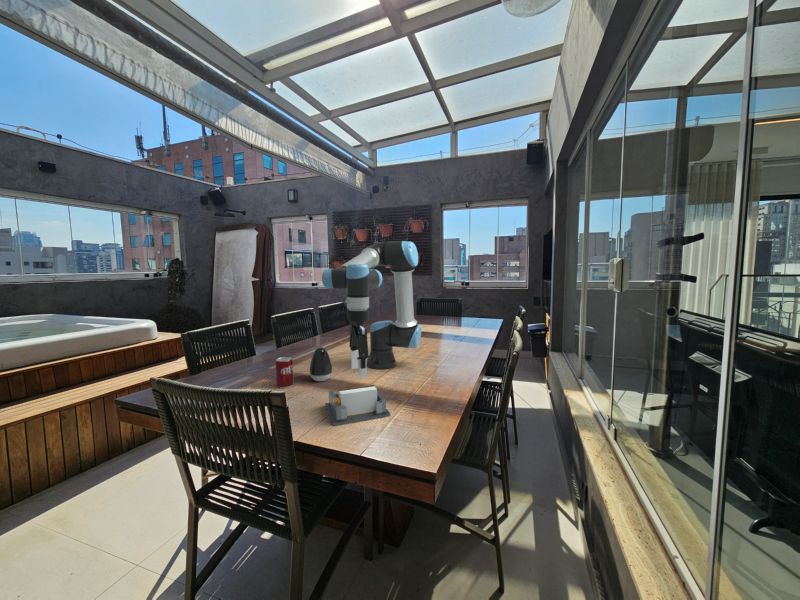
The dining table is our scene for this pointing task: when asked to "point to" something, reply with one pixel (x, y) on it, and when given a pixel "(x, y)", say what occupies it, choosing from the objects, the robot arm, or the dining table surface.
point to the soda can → (284, 372)
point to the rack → (340, 414)
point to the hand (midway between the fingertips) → (358, 372)
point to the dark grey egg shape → (320, 365)
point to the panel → (358, 400)
